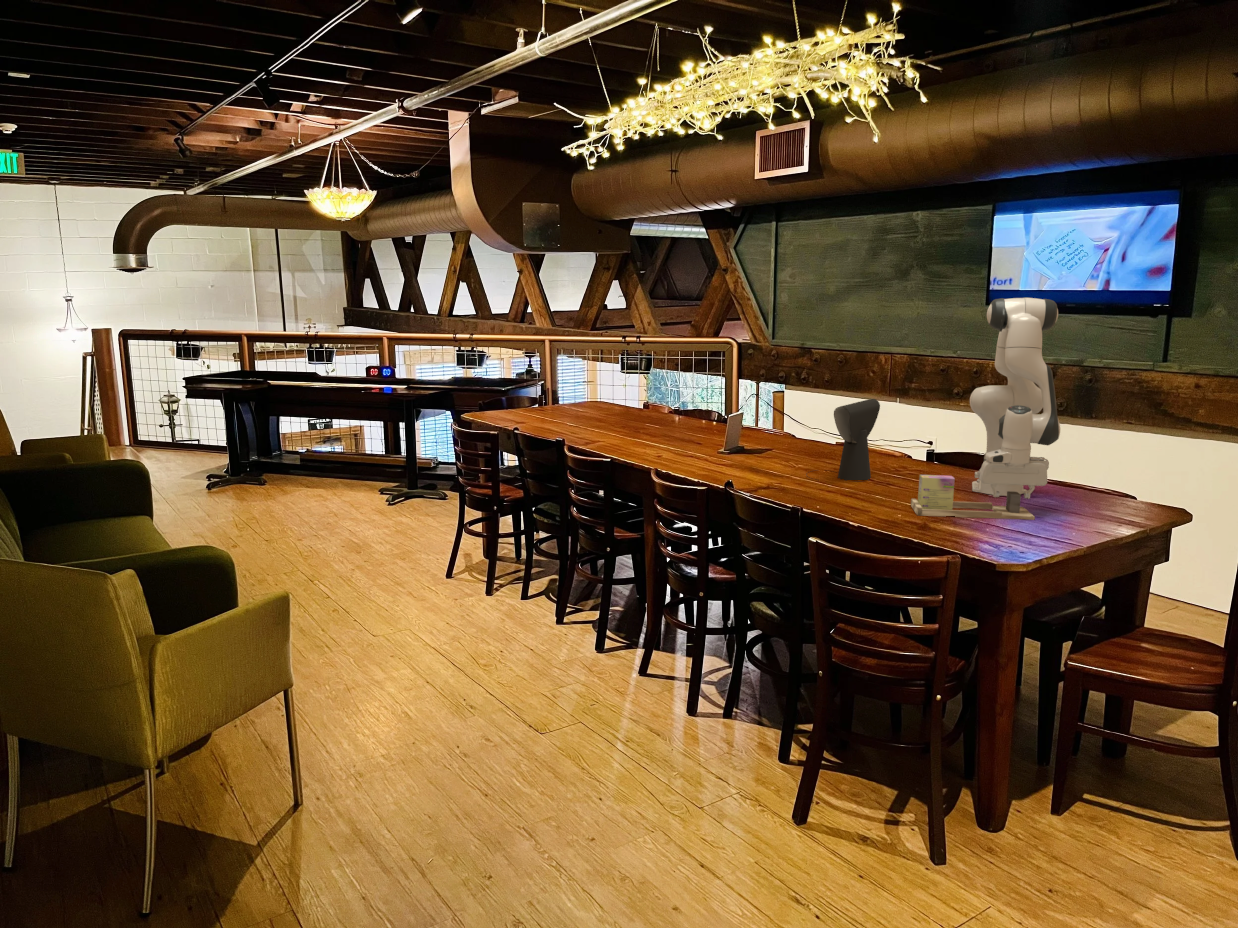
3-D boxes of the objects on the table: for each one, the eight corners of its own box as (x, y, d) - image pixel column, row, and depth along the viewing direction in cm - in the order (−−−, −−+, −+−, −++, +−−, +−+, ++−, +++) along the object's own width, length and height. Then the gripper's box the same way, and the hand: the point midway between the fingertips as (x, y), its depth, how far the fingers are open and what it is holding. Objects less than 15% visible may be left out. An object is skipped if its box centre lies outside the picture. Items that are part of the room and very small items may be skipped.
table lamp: (884, 492, 324) (889, 410, 319) (806, 489, 330) (809, 409, 324) (876, 471, 363) (879, 398, 357) (806, 469, 368) (808, 397, 363)
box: (949, 509, 298) (951, 475, 295) (952, 513, 292) (955, 478, 290) (917, 508, 299) (919, 474, 297) (919, 512, 294) (921, 477, 292)
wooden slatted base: (910, 505, 303) (912, 485, 302) (1022, 509, 297) (1024, 489, 296) (917, 515, 290) (918, 494, 288) (1034, 519, 284) (1036, 498, 282)
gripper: (1046, 455, 289) (1042, 496, 292) (980, 453, 293) (977, 494, 296) (1052, 459, 283) (1048, 501, 286) (984, 457, 287) (980, 498, 290)
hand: (1011, 497), depth 291 cm, fingers open, 8 cm apart
